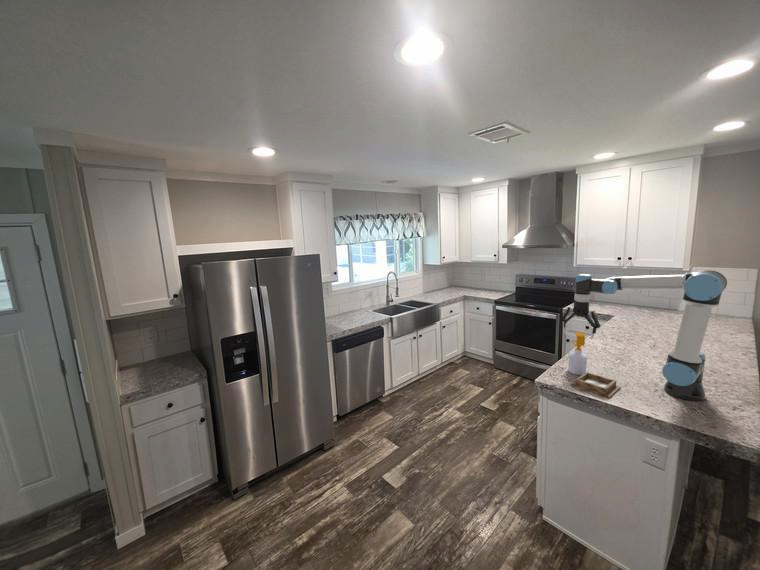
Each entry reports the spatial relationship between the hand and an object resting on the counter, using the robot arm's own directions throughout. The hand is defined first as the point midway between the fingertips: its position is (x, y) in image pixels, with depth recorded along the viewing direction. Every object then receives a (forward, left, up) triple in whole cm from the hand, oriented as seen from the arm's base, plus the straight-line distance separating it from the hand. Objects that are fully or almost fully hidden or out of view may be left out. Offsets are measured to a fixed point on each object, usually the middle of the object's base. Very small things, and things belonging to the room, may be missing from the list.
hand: (578, 335), depth 185 cm
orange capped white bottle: (0, 0, -23) cm, 23 cm away
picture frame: (-14, +12, -23) cm, 29 cm away
